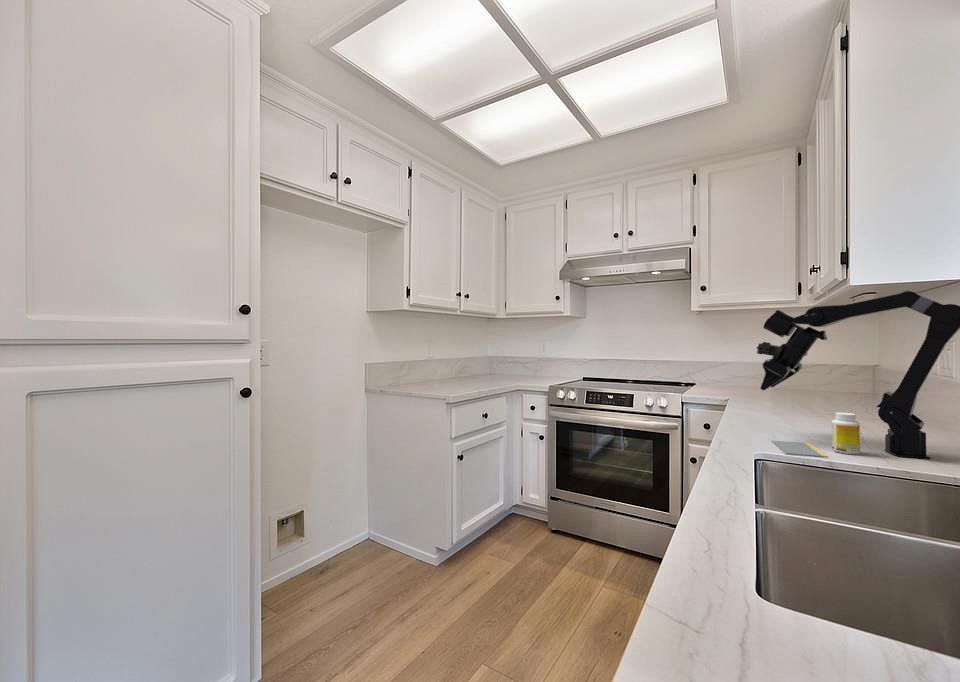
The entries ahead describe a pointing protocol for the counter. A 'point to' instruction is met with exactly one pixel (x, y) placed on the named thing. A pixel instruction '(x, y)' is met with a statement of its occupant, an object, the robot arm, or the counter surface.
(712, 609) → the counter surface
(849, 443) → the supplement bottle
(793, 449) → the mat
